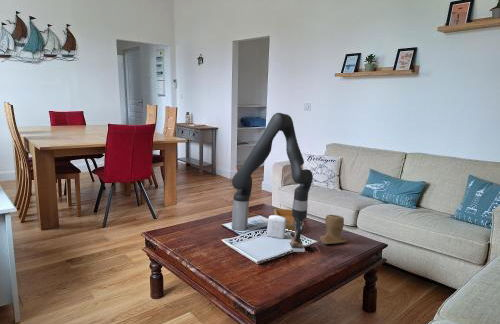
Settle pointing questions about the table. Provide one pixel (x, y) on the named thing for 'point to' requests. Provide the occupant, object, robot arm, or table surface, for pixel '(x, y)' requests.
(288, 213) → the tray
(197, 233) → the table surface
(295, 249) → the ink pad
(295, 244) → the hand stamp
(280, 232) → the photo printer
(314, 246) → the marked square
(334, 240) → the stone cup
